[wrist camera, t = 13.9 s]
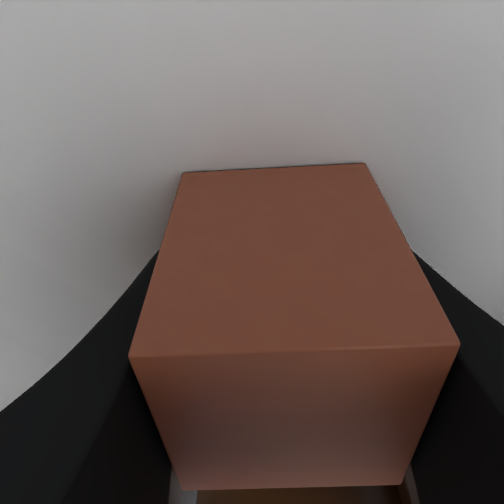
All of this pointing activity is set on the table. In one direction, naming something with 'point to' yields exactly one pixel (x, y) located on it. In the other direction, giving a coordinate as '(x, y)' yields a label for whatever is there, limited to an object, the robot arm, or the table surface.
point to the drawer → (286, 495)
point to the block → (289, 333)
